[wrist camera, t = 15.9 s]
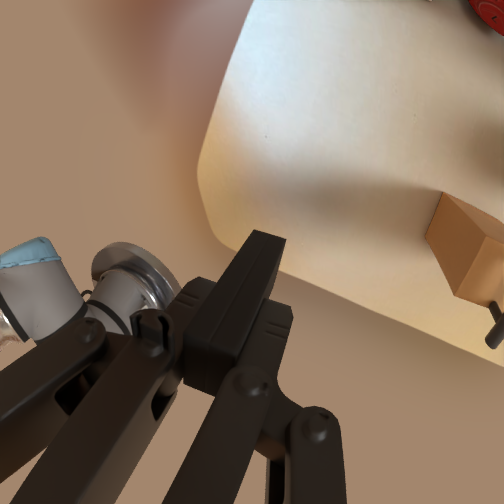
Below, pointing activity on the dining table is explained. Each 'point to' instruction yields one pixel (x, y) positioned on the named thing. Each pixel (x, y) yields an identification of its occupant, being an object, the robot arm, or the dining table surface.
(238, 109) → the dining table surface
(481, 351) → the dining table surface
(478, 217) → the box
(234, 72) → the dining table surface
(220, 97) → the dining table surface
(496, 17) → the headphones
